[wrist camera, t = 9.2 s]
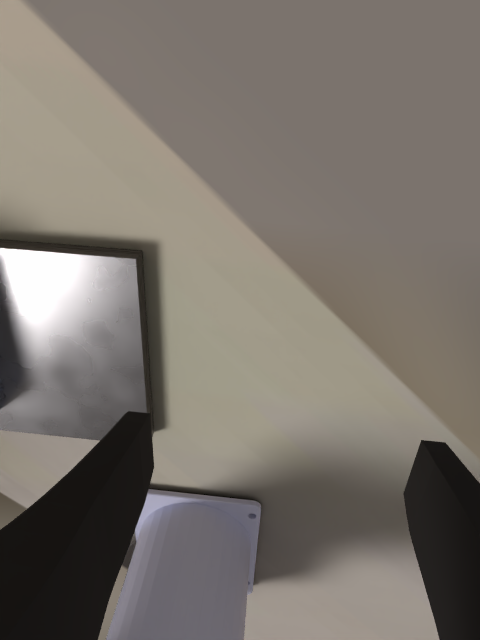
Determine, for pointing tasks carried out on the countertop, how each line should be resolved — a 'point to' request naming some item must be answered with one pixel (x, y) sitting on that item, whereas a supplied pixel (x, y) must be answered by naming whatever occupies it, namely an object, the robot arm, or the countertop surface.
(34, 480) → the countertop surface
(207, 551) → the robot arm
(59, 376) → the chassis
